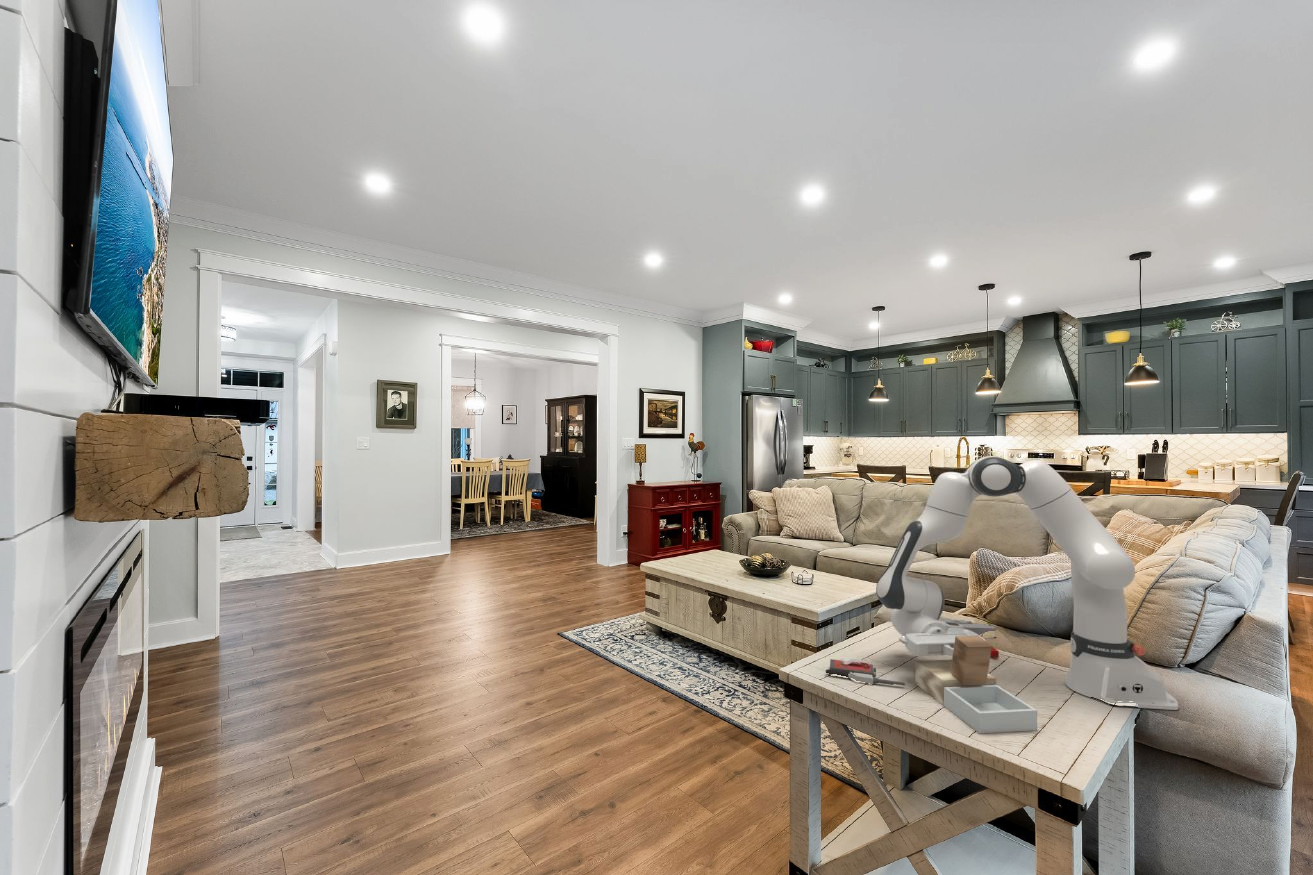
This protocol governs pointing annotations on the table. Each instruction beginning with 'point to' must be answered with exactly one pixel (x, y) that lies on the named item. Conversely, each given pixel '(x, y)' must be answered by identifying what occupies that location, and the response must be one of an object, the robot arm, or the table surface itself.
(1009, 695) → the grey bin
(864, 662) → the toy chainsaw
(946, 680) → the pale wood block
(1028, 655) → the table surface
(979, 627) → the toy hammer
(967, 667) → the walnut block
